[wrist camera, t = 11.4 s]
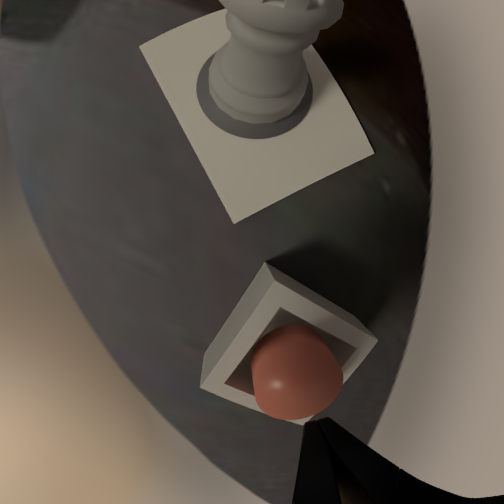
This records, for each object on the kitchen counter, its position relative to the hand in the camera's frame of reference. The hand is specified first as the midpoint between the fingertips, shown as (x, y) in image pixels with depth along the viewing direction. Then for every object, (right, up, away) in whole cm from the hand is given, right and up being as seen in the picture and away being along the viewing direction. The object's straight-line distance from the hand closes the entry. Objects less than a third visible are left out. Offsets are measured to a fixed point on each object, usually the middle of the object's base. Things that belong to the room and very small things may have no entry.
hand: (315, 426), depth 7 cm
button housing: (-1, +1, +7) cm, 7 cm away
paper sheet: (-2, +14, +4) cm, 14 cm away
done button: (0, +1, +4) cm, 5 cm away
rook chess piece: (-2, +14, +4) cm, 14 cm away
